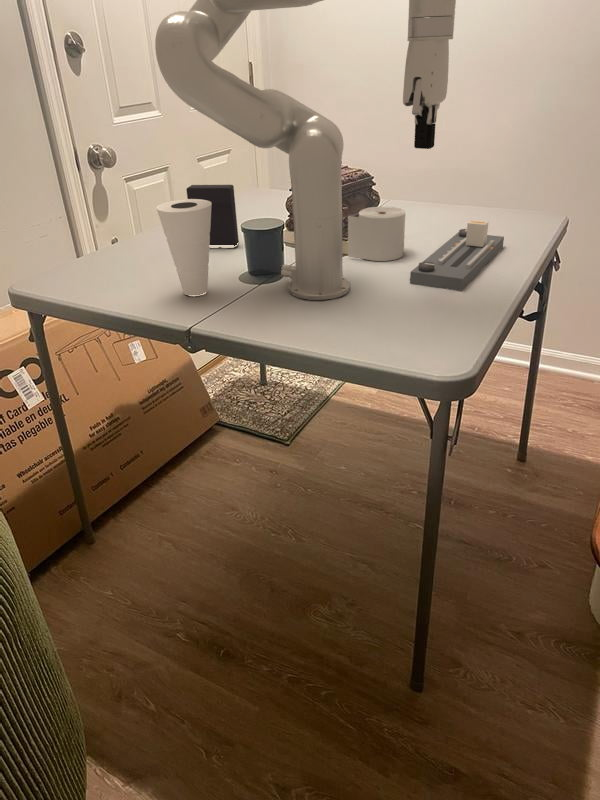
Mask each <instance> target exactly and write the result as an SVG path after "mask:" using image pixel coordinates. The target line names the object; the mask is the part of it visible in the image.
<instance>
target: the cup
mask: <svg viewBox="0 0 600 800" xmlns="http://www.w3.org/2000/svg"><path fill="white" fill-rule="evenodd" d="M211 205H212V203H211V202H210V201H207V200H202V199H188V198H186V199H184V198H183V199H174V200H171V201H166V202H163V203H160V204H158V205H157V206H156V208H155V209H156V211H157V215H158V217H159V221H160V223H161V226H162V230H163V234H164V235H165V237H166V241H167V245H168V248H169V251H170V254H171V257H172V261H173V263H174V264H173V265H174V267H175V268H176V272H177V276H178V280H179V282H180V285H181V289H182V292H183V295H184V294H186V295H200V294H203V293H205V292H207V293H208V287H209V286H208V285H209V283H208V282H209V262H210V248H209V245H210V226H211Z"/></svg>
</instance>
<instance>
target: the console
mask: <svg viewBox="0 0 600 800" xmlns="http://www.w3.org/2000/svg"><path fill="white" fill-rule="evenodd" d="M466 234H467V228H461V229H459V230H458V232H456V234H455V235H453V236H452V237H451V238H450V239H448V240H447V241H446V242H445V243H444V244H442V245H441V246H440V247H439V248H437V249H436V250H435V251H434V252H432V253H431V254H430V255H429V256H428V257H426V259H424V260H423V261H421V262H419V263H418V265H417V266H416V267H415V268H413V269H412V270H411V271H410V272H409V273H410V276H409V284H412V285H420V286H424V287H425V286H426V287H433V288H438V287H441V288H440V289H445V288H446V289H447V288H448V289H447V290H452V289H453V290H454V291H459V290H460V292H461V291H463V290H464V289H465V288H466V287H467V286H468V285H469V284H470V283H471V282H472V281H473V279H474V278H475V277H476V276H477V275H479V273H480V272H481V271H482V270H483V269H484V268H485V267H486V266H487V265H488V263H490V261H491V260H493V258H495V256H496V255H497V254H498V253H499V252H500V251H501V250H502V249H503V248H504V241H505V237H504V236H503V235H502V236H500V235H492V234H491V235H490V234H487V240H486V245H485V246H484V247H478V246H469V245H466ZM500 249H501V250H500ZM499 250H500V251H499ZM498 251H499V252H498ZM497 252H498V253H497ZM496 253H497V254H496ZM485 265H486V266H485ZM484 266H485V267H484ZM483 267H484V268H483ZM482 268H483V269H482ZM481 269H482V270H481ZM468 283H469V284H468ZM453 290H452V291H453Z"/></svg>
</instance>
